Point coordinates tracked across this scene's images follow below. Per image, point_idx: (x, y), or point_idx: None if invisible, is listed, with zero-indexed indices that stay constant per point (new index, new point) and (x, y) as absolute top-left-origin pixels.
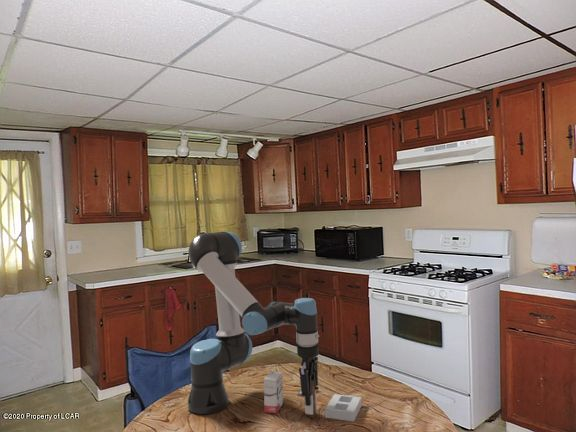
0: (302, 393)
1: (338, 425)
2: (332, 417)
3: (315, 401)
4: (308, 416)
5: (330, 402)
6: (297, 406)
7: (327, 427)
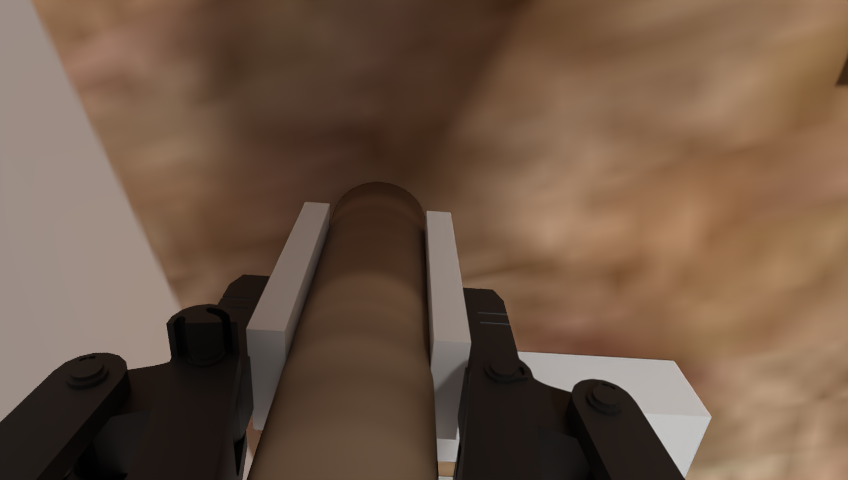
0: (42, 403)
1: None
2: None
3: None
4: (335, 211)
5: None
6: (572, 14)
7: None
